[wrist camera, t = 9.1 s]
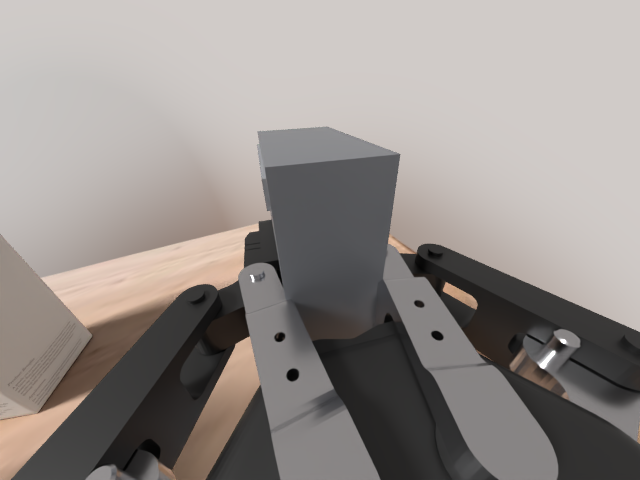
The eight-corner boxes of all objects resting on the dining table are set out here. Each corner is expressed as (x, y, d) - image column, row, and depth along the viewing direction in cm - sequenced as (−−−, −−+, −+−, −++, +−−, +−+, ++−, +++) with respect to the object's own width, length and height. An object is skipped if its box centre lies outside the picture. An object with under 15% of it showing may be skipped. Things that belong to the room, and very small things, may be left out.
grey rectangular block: (366, 406, 12) (404, 153, 5) (303, 426, 11) (259, 167, 5) (332, 313, 17) (329, 126, 10) (287, 324, 16) (254, 131, 10)
